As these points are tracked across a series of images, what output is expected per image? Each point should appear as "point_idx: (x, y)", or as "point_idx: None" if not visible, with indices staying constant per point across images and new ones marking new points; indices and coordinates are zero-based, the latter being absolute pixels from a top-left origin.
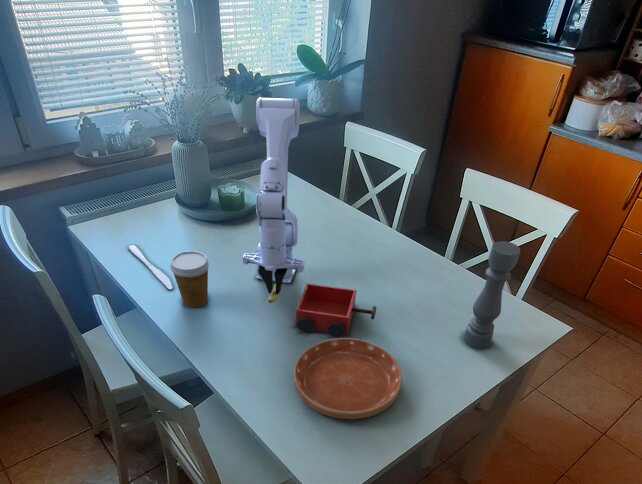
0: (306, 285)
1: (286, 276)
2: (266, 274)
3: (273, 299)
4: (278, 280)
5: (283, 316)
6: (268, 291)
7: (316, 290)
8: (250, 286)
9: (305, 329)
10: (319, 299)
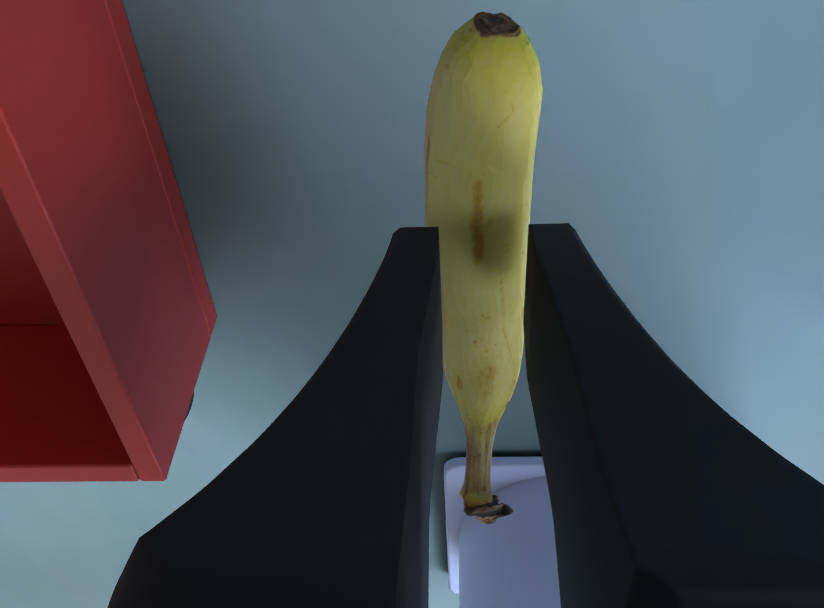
0: (144, 450)
1: None
2: (656, 550)
3: (438, 88)
4: (335, 434)
5: (330, 7)
6: (568, 236)
7: (59, 414)
8: (803, 367)
9: None
10: (64, 334)
